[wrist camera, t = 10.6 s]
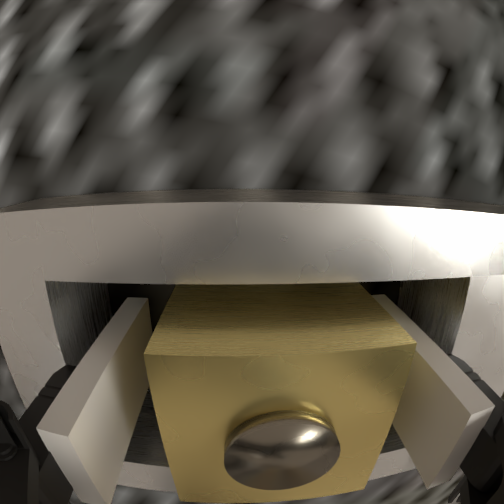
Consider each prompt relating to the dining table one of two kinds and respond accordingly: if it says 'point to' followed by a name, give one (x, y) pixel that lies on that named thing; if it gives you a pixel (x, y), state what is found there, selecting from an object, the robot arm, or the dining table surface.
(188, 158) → the dining table surface
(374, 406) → the gold knobbed block
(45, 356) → the grey slotted tray
